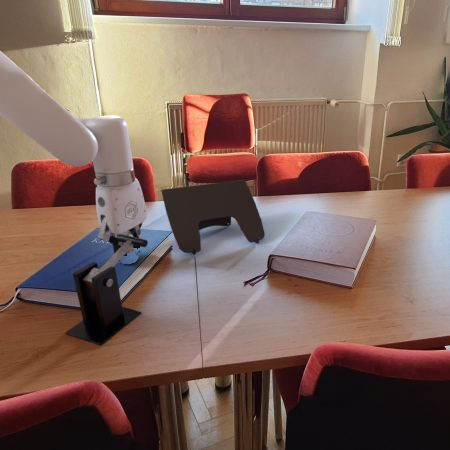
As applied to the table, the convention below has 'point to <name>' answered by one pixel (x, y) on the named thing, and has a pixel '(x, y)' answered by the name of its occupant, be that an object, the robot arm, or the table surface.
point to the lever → (115, 256)
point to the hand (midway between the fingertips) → (128, 254)
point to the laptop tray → (211, 211)
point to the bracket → (100, 306)
